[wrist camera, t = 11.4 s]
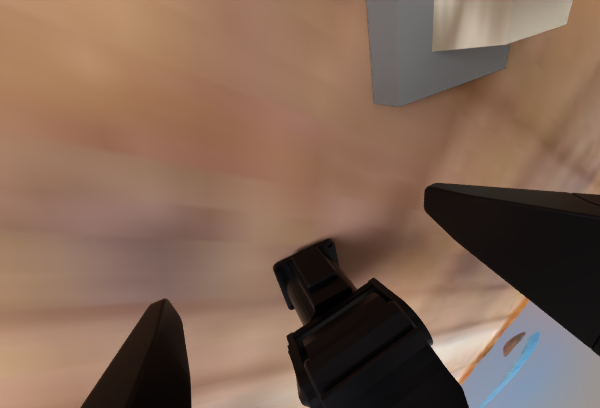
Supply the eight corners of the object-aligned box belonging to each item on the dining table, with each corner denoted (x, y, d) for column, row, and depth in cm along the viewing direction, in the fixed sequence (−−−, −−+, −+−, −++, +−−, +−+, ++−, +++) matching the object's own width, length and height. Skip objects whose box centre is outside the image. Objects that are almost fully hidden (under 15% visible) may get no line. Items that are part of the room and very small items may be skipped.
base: (472, 69, 24) (505, 68, 22) (373, 103, 22) (398, 107, 19) (490, -101, 18) (539, -128, 16) (360, -80, 16) (393, -108, 13)
